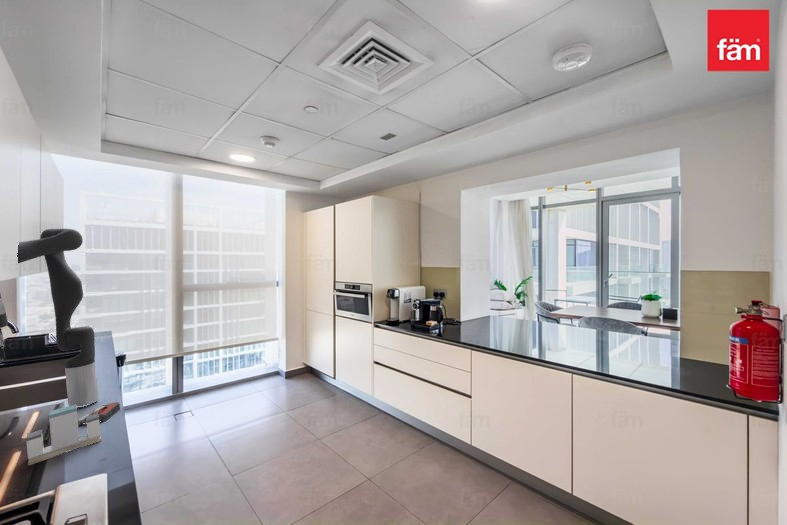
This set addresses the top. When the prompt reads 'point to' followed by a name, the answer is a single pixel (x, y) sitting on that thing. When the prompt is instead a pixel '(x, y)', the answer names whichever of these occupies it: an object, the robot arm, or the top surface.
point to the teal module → (64, 427)
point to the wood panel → (62, 451)
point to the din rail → (49, 449)
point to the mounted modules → (36, 437)
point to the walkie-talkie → (102, 412)
